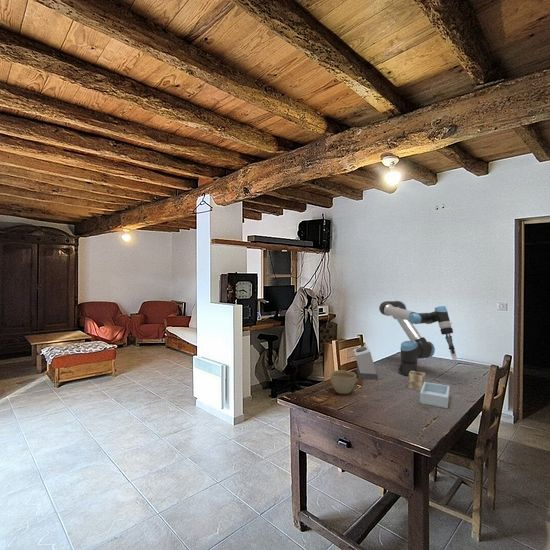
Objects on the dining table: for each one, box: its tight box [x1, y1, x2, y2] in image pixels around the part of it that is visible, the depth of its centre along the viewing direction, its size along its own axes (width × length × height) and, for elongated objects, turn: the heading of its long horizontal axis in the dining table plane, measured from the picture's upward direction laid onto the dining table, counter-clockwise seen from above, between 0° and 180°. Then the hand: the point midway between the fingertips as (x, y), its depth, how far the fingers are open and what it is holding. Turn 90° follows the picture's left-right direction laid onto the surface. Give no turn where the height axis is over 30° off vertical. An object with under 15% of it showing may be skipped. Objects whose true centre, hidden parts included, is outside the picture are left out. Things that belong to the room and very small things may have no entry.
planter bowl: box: [329, 369, 357, 395], centre depth 208 cm, size 16×16×11 cm
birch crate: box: [407, 371, 426, 391], centre depth 217 cm, size 9×9×9 cm
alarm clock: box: [353, 345, 379, 380], centre depth 243 cm, size 20×16×20 cm
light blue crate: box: [419, 381, 450, 409], centre depth 196 cm, size 14×22×6 cm, turn 150°
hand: (454, 359), depth 225 cm, fingers open, 13 cm apart
